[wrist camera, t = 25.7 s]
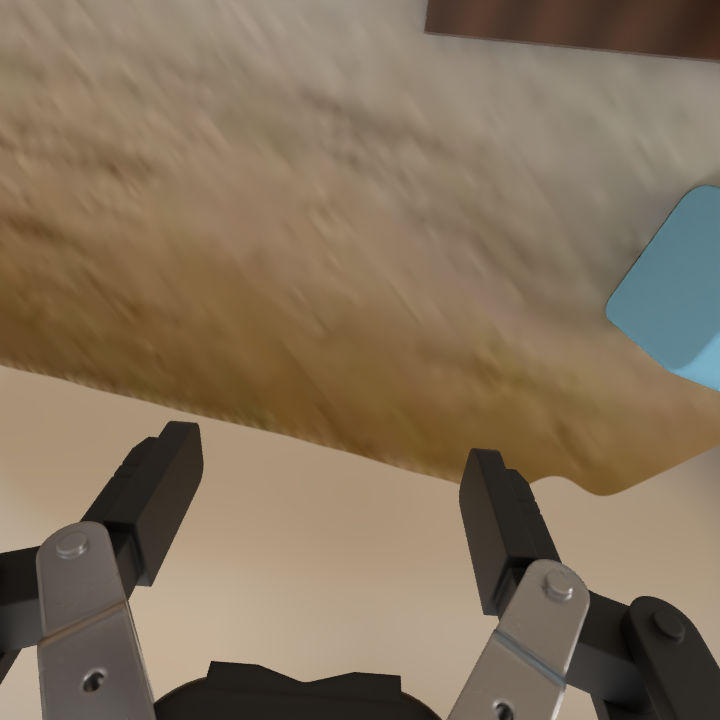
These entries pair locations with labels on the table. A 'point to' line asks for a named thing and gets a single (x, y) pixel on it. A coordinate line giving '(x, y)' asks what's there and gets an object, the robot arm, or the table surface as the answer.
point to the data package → (678, 291)
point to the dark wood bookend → (587, 24)
